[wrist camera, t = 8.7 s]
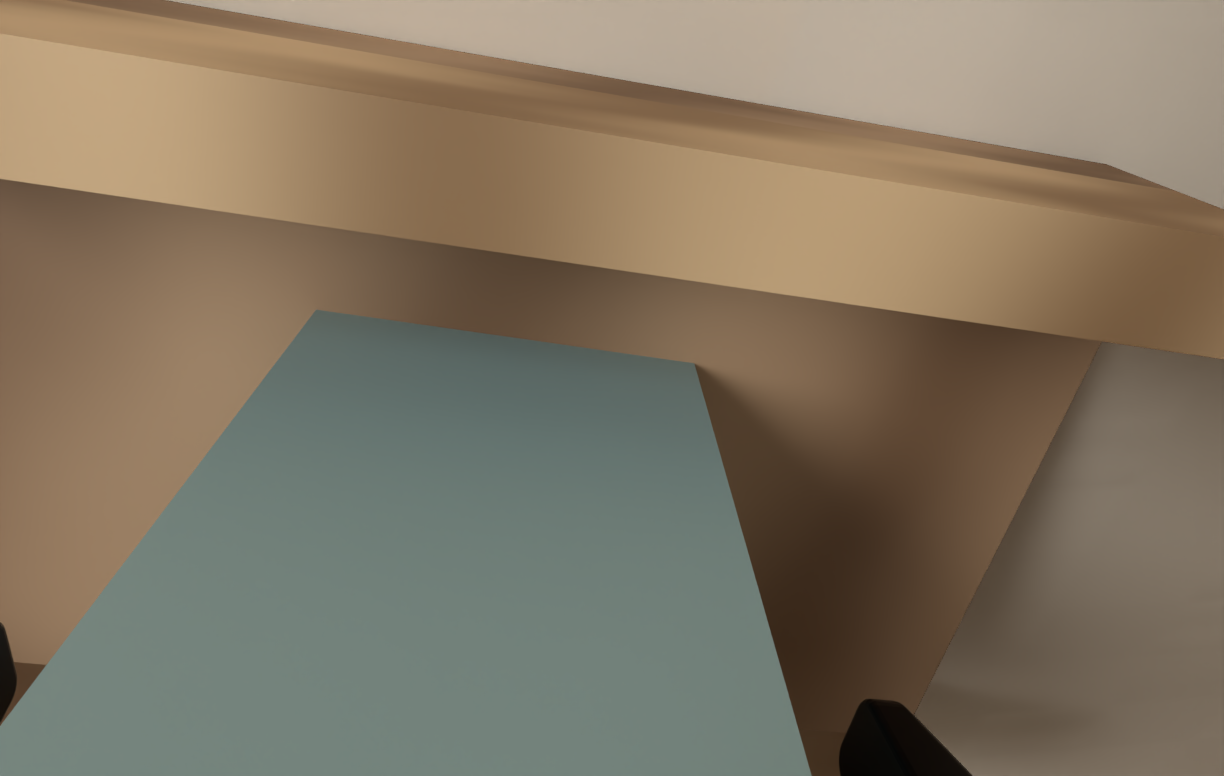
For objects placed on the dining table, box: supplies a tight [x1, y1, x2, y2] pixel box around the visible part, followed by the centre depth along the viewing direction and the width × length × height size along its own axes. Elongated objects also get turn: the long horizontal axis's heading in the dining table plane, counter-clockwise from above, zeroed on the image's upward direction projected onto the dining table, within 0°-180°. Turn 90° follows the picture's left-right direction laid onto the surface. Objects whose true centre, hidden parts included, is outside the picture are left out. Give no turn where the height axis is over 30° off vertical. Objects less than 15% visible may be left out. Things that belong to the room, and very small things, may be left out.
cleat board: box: [0, 0, 1224, 776], centre depth 10 cm, size 16×11×7 cm
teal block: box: [0, 310, 812, 776], centre depth 8 cm, size 5×5×8 cm
